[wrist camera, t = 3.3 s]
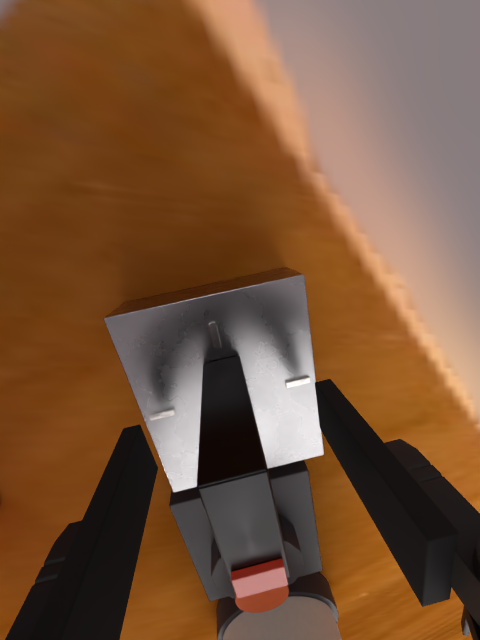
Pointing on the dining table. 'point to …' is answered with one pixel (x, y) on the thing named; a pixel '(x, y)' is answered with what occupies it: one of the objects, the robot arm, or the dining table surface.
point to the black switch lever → (238, 483)
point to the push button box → (294, 523)
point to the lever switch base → (216, 344)
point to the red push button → (263, 600)
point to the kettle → (284, 615)
